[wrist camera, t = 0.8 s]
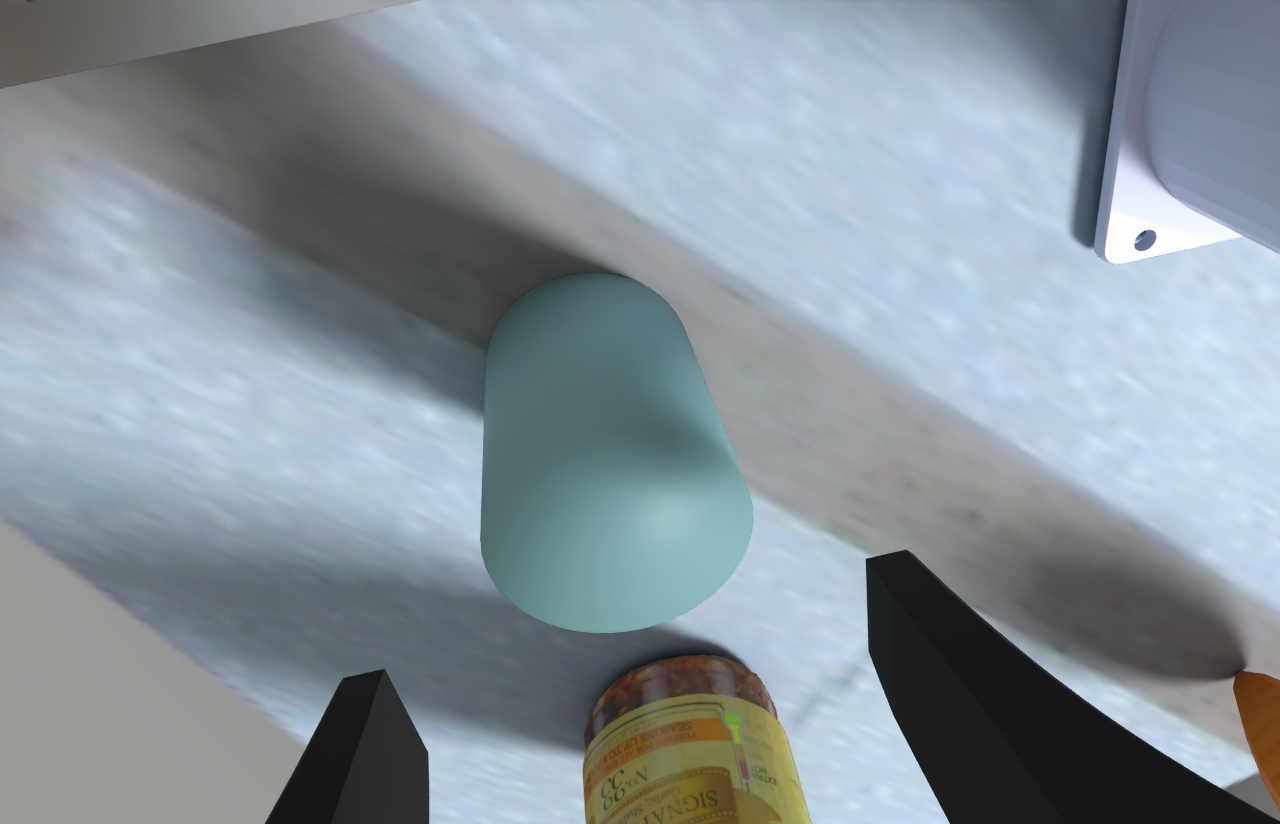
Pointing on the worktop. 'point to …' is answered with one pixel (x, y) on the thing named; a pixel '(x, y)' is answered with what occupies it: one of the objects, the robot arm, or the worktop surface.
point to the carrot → (1261, 724)
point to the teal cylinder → (605, 461)
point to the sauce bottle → (689, 749)
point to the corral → (140, 29)
